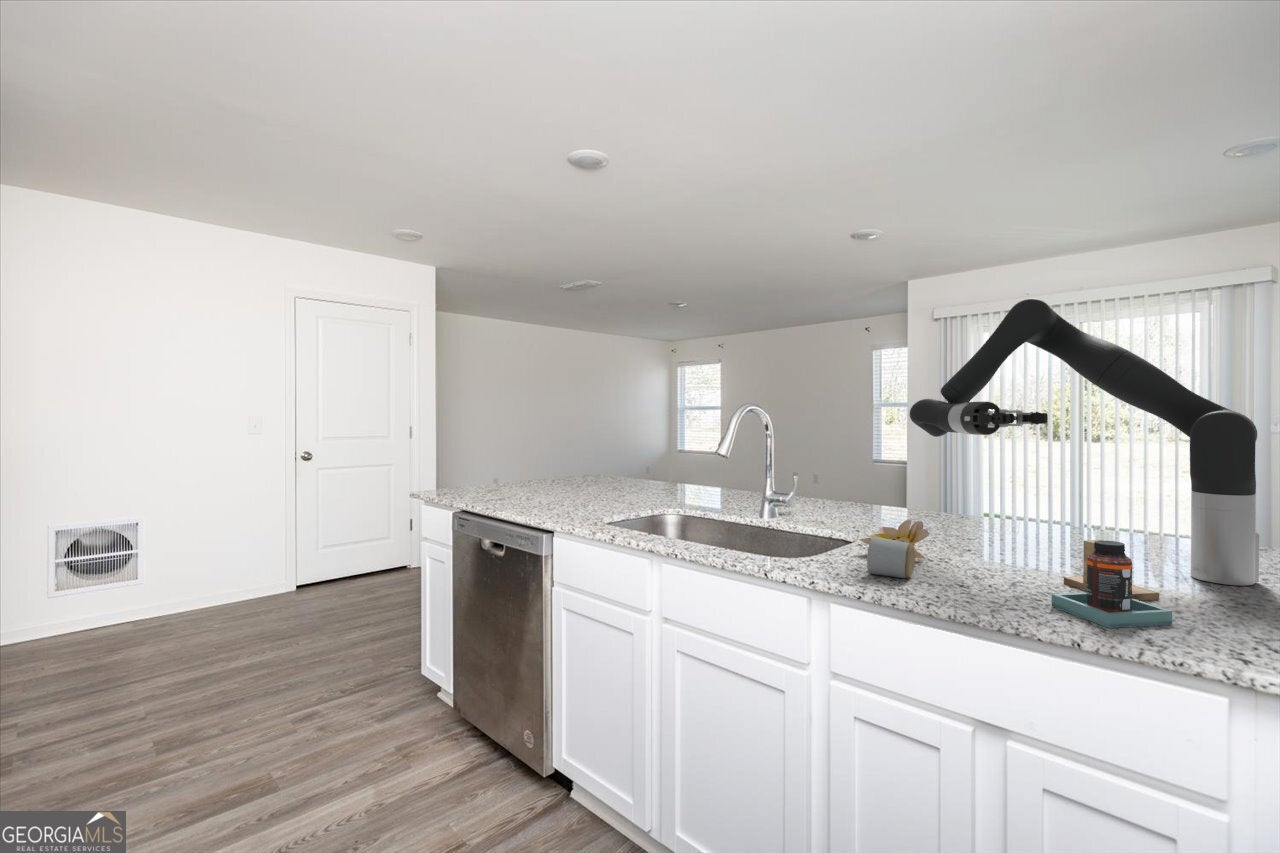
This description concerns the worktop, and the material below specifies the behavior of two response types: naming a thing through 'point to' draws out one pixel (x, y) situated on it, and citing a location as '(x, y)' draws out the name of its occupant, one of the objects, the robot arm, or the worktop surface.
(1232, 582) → the robot arm
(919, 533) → the decorative flower
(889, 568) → the ceramic mug
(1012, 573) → the worktop surface
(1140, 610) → the tray
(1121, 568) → the supplement bottle
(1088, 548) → the wooden stand
